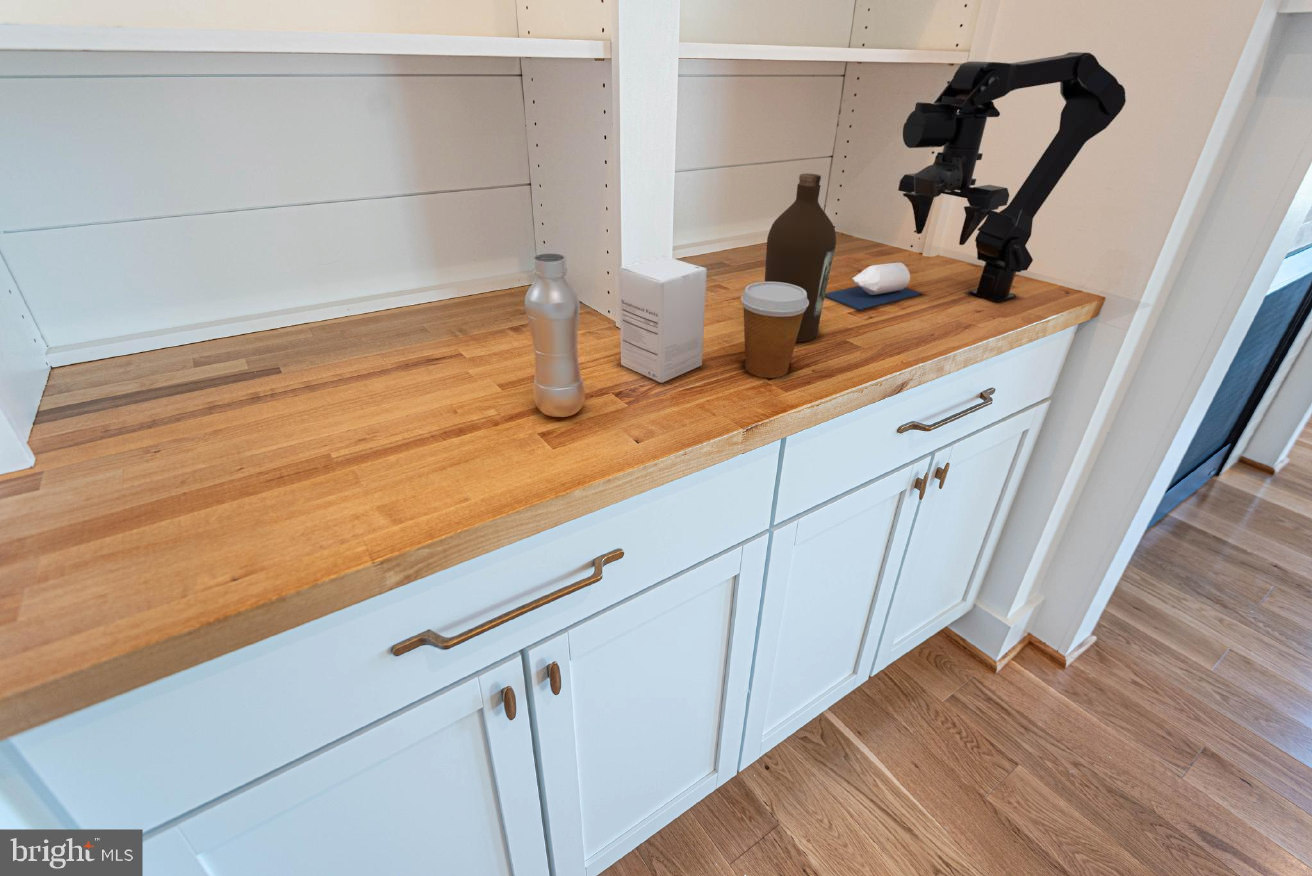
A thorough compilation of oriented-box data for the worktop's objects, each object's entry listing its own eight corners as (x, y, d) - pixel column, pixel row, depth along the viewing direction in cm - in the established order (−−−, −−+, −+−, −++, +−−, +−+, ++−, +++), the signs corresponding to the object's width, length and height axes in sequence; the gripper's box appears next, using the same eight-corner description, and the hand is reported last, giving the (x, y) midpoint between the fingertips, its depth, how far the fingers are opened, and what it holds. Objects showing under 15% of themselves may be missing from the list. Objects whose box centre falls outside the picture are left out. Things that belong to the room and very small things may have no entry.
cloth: (883, 281, 133) (883, 280, 133) (921, 294, 126) (922, 293, 126) (822, 295, 124) (822, 294, 124) (859, 310, 118) (859, 308, 117)
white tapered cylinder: (839, 293, 125) (844, 264, 122) (884, 285, 130) (890, 257, 127) (861, 302, 120) (866, 273, 117) (907, 294, 125) (913, 265, 122)
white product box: (661, 348, 101) (663, 253, 93) (703, 366, 95) (709, 267, 88) (618, 364, 95) (617, 265, 87) (660, 384, 90) (663, 280, 82)
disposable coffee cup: (779, 389, 89) (790, 307, 83) (722, 370, 94) (728, 292, 88) (809, 367, 96) (821, 289, 90) (754, 350, 101) (762, 276, 94)
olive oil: (754, 340, 104) (771, 178, 91) (760, 318, 113) (777, 167, 100) (820, 347, 102) (847, 183, 89) (821, 324, 111) (846, 171, 98)
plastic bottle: (564, 428, 79) (554, 269, 68) (523, 413, 82) (507, 259, 72) (595, 407, 84) (590, 256, 73) (556, 394, 87) (545, 246, 76)
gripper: (886, 143, 112) (870, 233, 120) (981, 157, 98) (956, 257, 106) (927, 139, 117) (909, 226, 125) (1023, 152, 103) (996, 248, 112)
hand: (939, 239), depth 117 cm, fingers open, 9 cm apart
